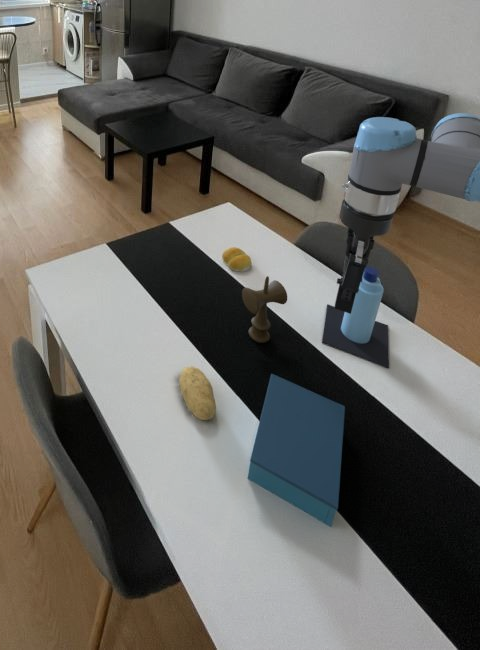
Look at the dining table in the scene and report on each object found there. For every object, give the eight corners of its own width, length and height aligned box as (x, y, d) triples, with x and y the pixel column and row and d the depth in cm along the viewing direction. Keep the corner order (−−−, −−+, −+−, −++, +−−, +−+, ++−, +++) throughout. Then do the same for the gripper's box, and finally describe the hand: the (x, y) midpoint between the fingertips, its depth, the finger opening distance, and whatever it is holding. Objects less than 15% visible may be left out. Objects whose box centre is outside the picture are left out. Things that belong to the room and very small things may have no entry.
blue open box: (329, 533, 74) (337, 506, 71) (246, 484, 81) (250, 458, 78) (337, 434, 88) (344, 409, 86) (266, 400, 96) (270, 376, 93)
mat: (387, 326, 112) (388, 325, 112) (388, 368, 101) (389, 367, 101) (327, 305, 119) (327, 304, 119) (321, 342, 108) (322, 341, 108)
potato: (202, 377, 101) (203, 358, 99) (222, 425, 91) (224, 406, 89) (174, 381, 101) (175, 362, 98) (191, 430, 91) (193, 411, 88)
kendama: (235, 332, 113) (242, 272, 105) (266, 322, 115) (275, 263, 107) (250, 351, 107) (258, 290, 100) (282, 340, 110) (293, 280, 102)
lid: (337, 510, 70) (338, 508, 70) (250, 461, 77) (250, 459, 77) (344, 409, 86) (345, 406, 85) (270, 375, 93) (271, 373, 92)
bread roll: (235, 276, 131) (236, 265, 130) (217, 257, 139) (218, 247, 138) (257, 268, 134) (259, 258, 132) (238, 251, 141) (240, 241, 140)
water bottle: (370, 329, 111) (387, 267, 103) (369, 347, 106) (388, 284, 98) (341, 319, 114) (356, 258, 106) (340, 336, 109) (355, 274, 102)
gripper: (345, 182, 80) (324, 280, 89) (340, 218, 70) (317, 324, 79) (393, 192, 76) (366, 293, 85) (395, 232, 66) (364, 342, 75)
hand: (342, 308), depth 82 cm, fingers closed
